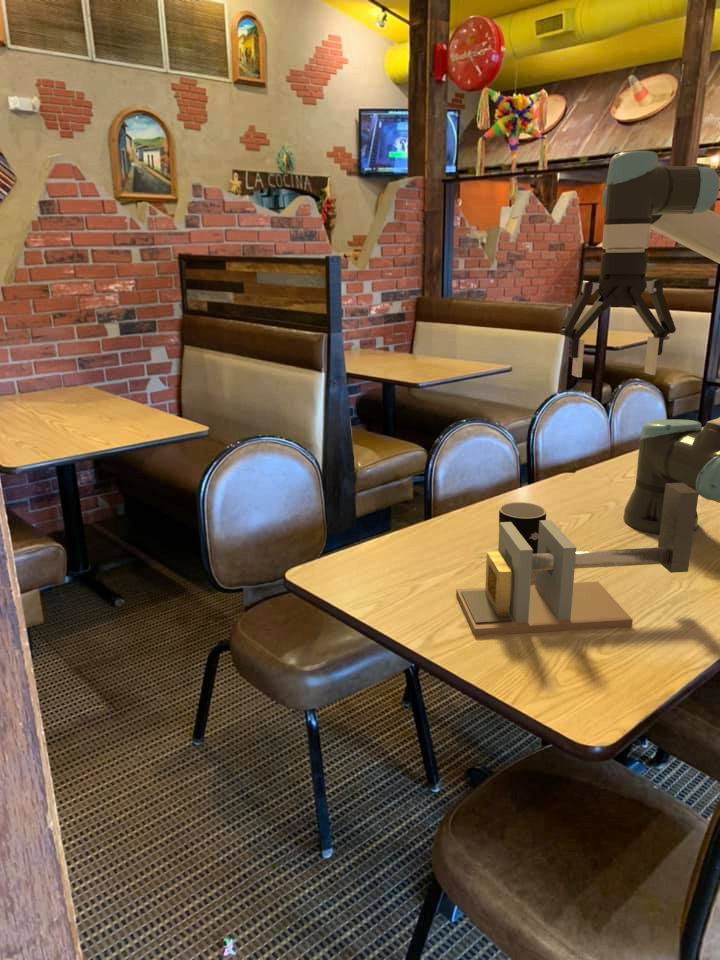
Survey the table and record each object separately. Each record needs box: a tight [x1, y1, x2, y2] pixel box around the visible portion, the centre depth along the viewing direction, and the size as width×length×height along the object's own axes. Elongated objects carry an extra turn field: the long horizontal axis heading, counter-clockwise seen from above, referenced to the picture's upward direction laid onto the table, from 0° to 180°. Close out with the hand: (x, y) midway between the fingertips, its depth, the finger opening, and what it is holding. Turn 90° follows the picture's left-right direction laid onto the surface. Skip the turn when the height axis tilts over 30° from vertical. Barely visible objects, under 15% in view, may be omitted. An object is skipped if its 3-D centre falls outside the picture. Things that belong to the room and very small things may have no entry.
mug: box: [498, 501, 547, 554], centre depth 143 cm, size 12×9×10 cm
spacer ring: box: [484, 550, 512, 616], centre depth 121 cm, size 2×8×8 cm, turn 5°
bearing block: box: [455, 519, 634, 636], centre depth 121 cm, size 26×14×14 cm, turn 95°
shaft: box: [531, 483, 700, 574], centre depth 119 cm, size 27×5×14 cm, turn 95°
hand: (613, 375), depth 130 cm, fingers open, 13 cm apart
